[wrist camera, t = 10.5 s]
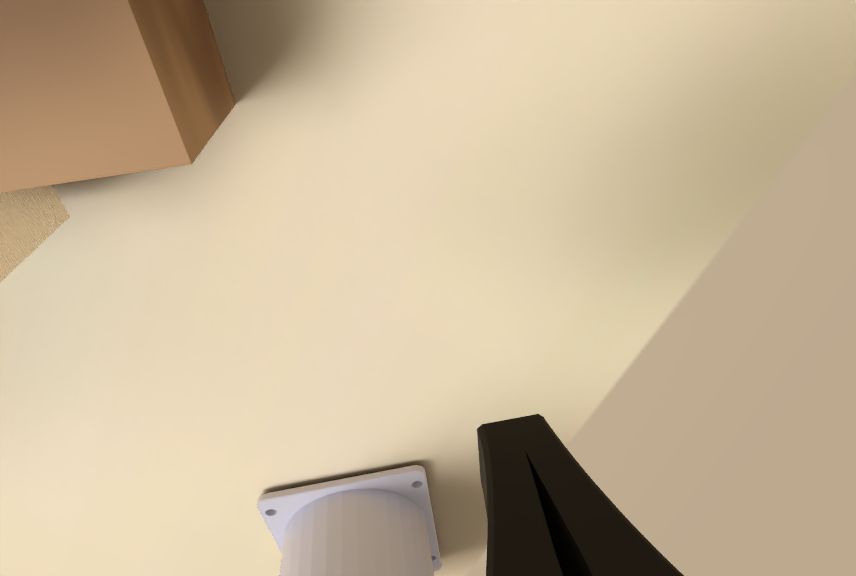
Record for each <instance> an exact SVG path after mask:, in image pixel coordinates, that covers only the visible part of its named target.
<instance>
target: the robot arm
mask: <svg viewBox="0 0 856 576" xmlns="http://www.w3.org/2000/svg"><path fill="white" fill-rule="evenodd" d="M477 434H478V448H479V462H480V475H481V483H482V488H483V493H484V499H485V505H486V511H487V518H488V540H487V566H486V576H684V575H683V574H681V573H680V572H679V571H678V570H677V569H676V568H675V567H674V566H673V565H672V564H671V563H670V562H669V561H668V560H667V559H666V558H665V557H664V556H663V555H662V554H661V553H660V552H659V551H658V550H657V549H656V548H655V547H654V546H653V545H652V544H651V543H650V542H649V541H648V540H647V539H646V538H645V537H644V536H643V535H642V534H641V533H640V532H639V531H638V530H637V529H636V528H635V527H634V526H633V525H632V524H631V523H630V521H629V520H628V519H627V518H626V517H625V516H624V515H623V514H622V513H621V512H620V511H619V510H618V508H616V506H615V505H614V504H613V503H612V502H611V501H610V499H609V498H608V497H607V496H606V495H605V494H604V493H603V492H602V491H601V489H600V488H599V487H598V486H597V485H596V484H595V483H594V482H593V480H592V479H591V478H590V477H589V476H588V474H587V473H586V472H585V471H584V470H583V468H582V467H581V466H580V465H579V463H578V462H577V461H576V460H575V459H574V458H573V456H572V455H571V454H570V452H569V451H568V450H567V448H566V447H565V446H564V445H563V443H562V442H561V441H560V439H559V438H558V437H557V435H556V434H555V433H554V431H553V430H552V429H551V427H550V426H549V424H548V423H547V422H546V420H545V419H544V417H543V416H541V415H539V414H536V415H530V416H525V417H520V418H514V419H509V420H503V421H498V422H493V423H487V424H482V425H481V426H480V427H479V428H478V429H477ZM257 508H258V510H259V512H260V514H261V515H262V517H263V519H264V521H265V523H266V525H267V527H268V529H269V531H270V533H271V534H272V536H273V538H274V540H275V542H276V544H277V546H278V548H279V550H280V551H281V553H282V555H281V565H280V575H279V576H434V572H433V571H437V570H439V569H440V568H441V566H442V563H441V557H440V552H439V546H438V540H437V535H436V529H435V523H434V518H433V512H432V506H431V501H430V495H429V489H428V483H427V478H426V472H425V469H424V467H422V466H419V465H412V466H407V467H402V468H397V469H391V470H386V471H381V472H376V473H370V474H365V475H360V476H355V477H349V478H344V479H339V480H334V481H328V482H323V483H318V484H312V485H307V486H302V487H297V488H291V489H286V490H281V491H276V492H270V493H266V494H263V495H261V496H260V497H259V498H258V502H257Z"/></svg>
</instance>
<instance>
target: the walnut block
mask: <svg viewBox="0 0 856 576" xmlns="http://www.w3.org/2000/svg"><path fill="white" fill-rule="evenodd" d="M234 106H235V102H234V98H233V95H232V92H231V89H230V86H229V83H228V79H227V76H226V73H225V70H224V67H223V63H222V60H221V57H220V54H219V51H218V48H217V44H216V41H215V38H214V35H213V32H212V28H211V25H210V22H209V19H208V16H207V13H206V9H205V6H204V3H203V0H0V192H7V191H14V190H20V189H27V188H34V187H41V186H47V185H54V184H61V183H68V182H74V181H81V180H88V179H95V178H101V177H108V176H115V175H122V174H128V173H135V172H142V171H149V170H155V169H162V168H169V167H176V166H183V165H189V164H192V163H193V161H194V160H195V159H196V157H197V156H198V155H199V153H200V152H201V151H202V149H203V148H204V146H205V145H206V144H207V142H208V141H209V140H210V138H211V137H212V136H213V134H214V133H215V131H216V130H217V129H218V127H219V126H220V125H221V123H222V122H223V121H224V119H225V118H226V116H227V115H228V114H229V112H230V111H231V110H232V108H233V107H234Z"/></svg>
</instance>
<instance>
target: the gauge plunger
mask: <svg viewBox="0 0 856 576" xmlns="http://www.w3.org/2000/svg"><path fill="white" fill-rule="evenodd" d="M69 217H70V216H69V214H68V212H67V211H66V209H65V207H64V205H63V204H62V202H61V200H60V198H59V197H58V195H57V193H56V191H55V190H54V188H53V186H52V185H47V186H41V187H34V188H27V189H20V190H14V191H7V192H0V282H1V281H2V280H3V279H4V278H5V277H6V276H7V275H9V274H10V273H11V272H12V271H13V270H14V269H15V268H16V267H17V266H18V265H19V264H20V263H21V262H22V261H23V260H24V259H25V258H26V257H28V256H29V255H30V254H31V253H32V252H33V251H34V250H35V249H36V248H37V247H38V246H39V245H40V244H41V243H42V242H43V241H44V240H46V239H47V238H48V237H49V236H50V235H51V234H52V233H53V232H54V231H55V230H56V229H57V228H58V227H59V226H60V225H61V224H62V223H63V222H65V221H66V220H67V219H68V218H69Z"/></svg>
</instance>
